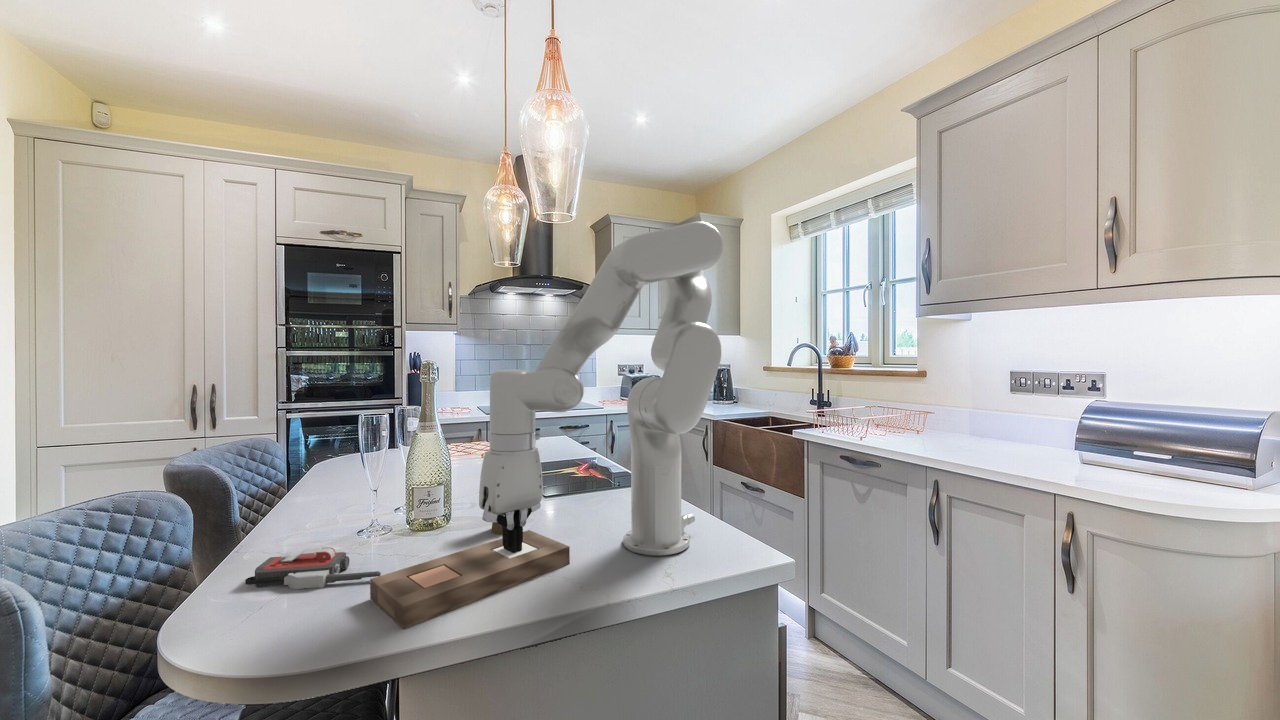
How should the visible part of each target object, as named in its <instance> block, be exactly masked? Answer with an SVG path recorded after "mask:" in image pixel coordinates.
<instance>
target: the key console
mask: <svg viewBox="0 0 1280 720" xmlns="http://www.w3.org/2000/svg"><path fill="white" fill-rule="evenodd" d="M523 543H525V544H528V545H530V546H532V547H534V548H537V550H534V551H532V552H529V553H526V554H523V555H520V556H517V557H514V558H511V559H508V558H506V557H504V556H502V555H500V554H498V553H496V552H494V551H492V550H493V549H496V548H499V547H502V546H503V543H502V538H499V539H496V540H492V541H489V542H486V543H483V544H480V545H476V546H473V547H470V548H466V549H463V550H461V551H457V552H454V553H451V554H446V555H443V556H440V557H437V558H434V559H431V560H428V561H424V562H421V563H418V564H414V565H412V566H408V567H406V568H405V567H404V568H402V569H399V570H395V571H392V572H389V573H386V574H382V575H380V576H377V577H371V578H370V579H369V589H370V590H369V591H370V592H369V595H370V597H369V598H370V600H371V602H372V603H374V604H376V606H377V607H379V608H380V610H382V611H383V612H384V613H385V614H386V615H387V616H388V617H390V618H391V619H392V620H393V621H394V622H395V623H396V624H398V625H399V627H401V628H402V629H403V630H405V629H407V628H410V627H412V626H415V625H417V624H420V623H422V622H425V621H427V620H430V619H432V618H435V617H438V616H440V615H444V614H446V613H449V612H451V611H454V610H456V609H459V608H460V607H463V606H466V605H468V604H470V603H473V602H476V601H478V600H481V599H483V598H485V597H489V596H492V595H494V594H496V593H499V592H501V591H503V590H506V589H509V588H512V587H515V586H517V585H519V584H522V583H524V582H525V583H526V581H530V580H532V579H534V578H537V577H540V576H542V575H544V574H547V573H550V572H552V571H554V570H555V571H556V570H557V569H560V568H563V567H565V566H567V565H570V560H571V557H570V556H571V555H570V554H571V553H570V550H571V549H570V545H567V544H565V543H562V542H559V541H557V540H554V539H552V538H550V537H547V536H544V535H543V534H540V533H538V532H535V531H532V530H530V529H528V530H525V531H524V530H523ZM443 565H444V566H445V567H447V568H449V569H450V570H452V571H453V572H455V573H457V574H458V575H460V576H459V577H457V578H454V579H451V580H448V581H445V582H442V583H439V584H436V585H433V586H431V587H428V588H425V589H423V588H421V587H420V586H419V585H417V584H416V583H414V582H413V581H412V580H410V579H409V576H412V575H415V574H419V573H422V572H425V571H428V570H431V569H434V568H437V567H440V566H443Z"/></svg>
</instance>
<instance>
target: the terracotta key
mask: <svg viewBox="0 0 1280 720" xmlns="http://www.w3.org/2000/svg"><path fill="white" fill-rule="evenodd" d="M459 576H460V575H458V574H457V573H455V572H453V571H452V570H450V569H449V568H447V567H445V566H444V565H443V566H440V567H437V568H434V569H431V570H428V571H425V572H422V573H419V574H415V575H412V576H409V579H410V580H412V581H413V582H414V583H416V584H417V585H419V586H420V587H421V588H423V589H425V588H428V587H431V586H433V585H436V584H439V583H442V582H445V581H448V580H451V579H454V578H457V577H459Z"/></svg>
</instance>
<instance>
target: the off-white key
mask: <svg viewBox="0 0 1280 720" xmlns="http://www.w3.org/2000/svg"><path fill="white" fill-rule="evenodd" d="M534 550H537V548H534V547H532V546H530V545H528V544H525V543H523V542H522V550H521V551H516V552H515V553H512V552H510V551H508V550H506V549H504V546H502V547H499V548H496V549H493V550H492V551H494V552H496V553H498V554H500V555H502V556H504V557H506V558H508V559H511V558H514V557H517V556H520V555H523V554H526V553H529V552H532V551H534Z"/></svg>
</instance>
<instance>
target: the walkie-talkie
mask: <svg viewBox="0 0 1280 720" xmlns="http://www.w3.org/2000/svg"><path fill="white" fill-rule="evenodd" d="M350 561H351V560H350V557H349V556H348V555H347V552H344V551H343V552H342V551H339V552H337V551H336V550H335V549H334V548H333V547H322V548H320V547H317V548H315V547H314V548H306V549H305V550H303V551H302V552H301V553H299V554H295V555H294V554H293V555H291V552H290V551H289V552H288V551H287V552H286V553H285V554H283V555H282V556H273V557H272V556H271V557H269V558H267V559H266V560H265V561H263V562H262V563H261V564H259V565H258V566H257V567H256V568H255V569H254V576H250V577H247V578H246V579H244V581H245V582H244V584H245V585H249V586H253V585H254V587H255V586H256V588H266V587H278V585H281V586H287V587H288V588H290V587H291V589H293V588H294V590H303V589H304V588H306V589H315V588H318V589H320V588H321V589H322V588H325V587H326V586H327V584H331V583H332V584H333V583H336V582H345V581H347V582H348V581H358V580H359V581H360V580H362V579H363V578H375V577H379V576H382V575H381V574H382V573H381V572H380V571H379V570H378V571H377V570H376V571H363V572H352V573H351V572H350V573H341V572H342V571H343V570H348V568H349V567H350V566H349V565H350Z"/></svg>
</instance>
